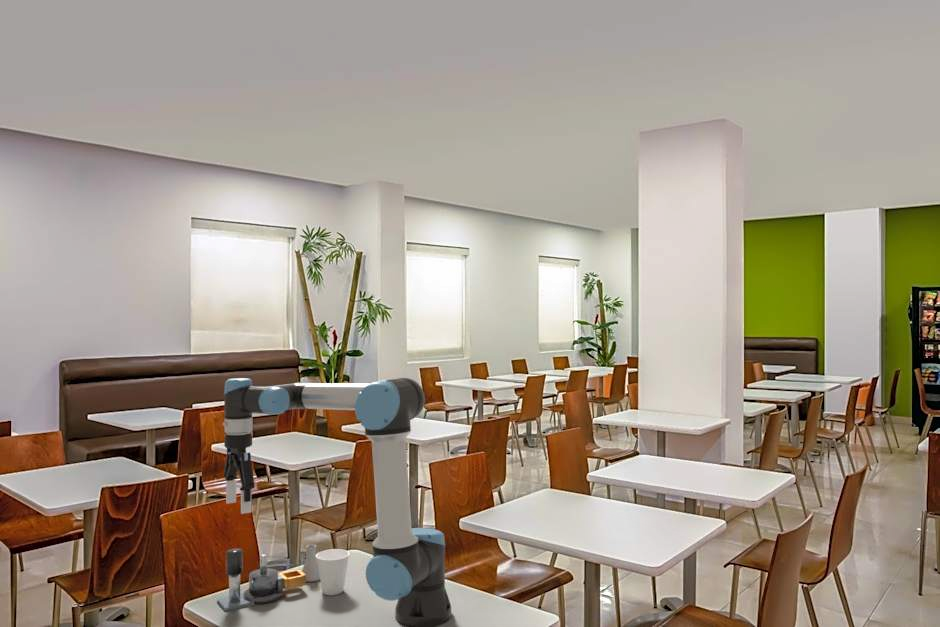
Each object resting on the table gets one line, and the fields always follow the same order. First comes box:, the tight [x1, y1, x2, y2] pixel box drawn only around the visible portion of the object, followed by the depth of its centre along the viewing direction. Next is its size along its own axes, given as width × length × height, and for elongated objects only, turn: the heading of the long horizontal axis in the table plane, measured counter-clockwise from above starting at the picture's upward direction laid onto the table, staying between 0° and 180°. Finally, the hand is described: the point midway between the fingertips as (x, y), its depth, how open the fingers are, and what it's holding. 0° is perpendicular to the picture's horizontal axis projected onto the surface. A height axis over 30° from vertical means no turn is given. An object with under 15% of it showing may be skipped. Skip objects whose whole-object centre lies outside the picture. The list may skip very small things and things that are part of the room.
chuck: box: [248, 553, 307, 596], centre depth 206 cm, size 16×8×10 cm, turn 124°
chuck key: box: [225, 548, 244, 603], centre depth 199 cm, size 4×4×14 cm
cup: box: [316, 548, 351, 596], centre depth 208 cm, size 10×10×11 cm
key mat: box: [216, 592, 255, 612], centre depth 199 cm, size 8×8×1 cm
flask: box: [301, 544, 321, 583], centre depth 219 cm, size 7×7×10 cm
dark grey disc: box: [243, 588, 284, 605], centre depth 204 cm, size 11×11×2 cm
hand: (238, 507), depth 200 cm, fingers open, 13 cm apart
